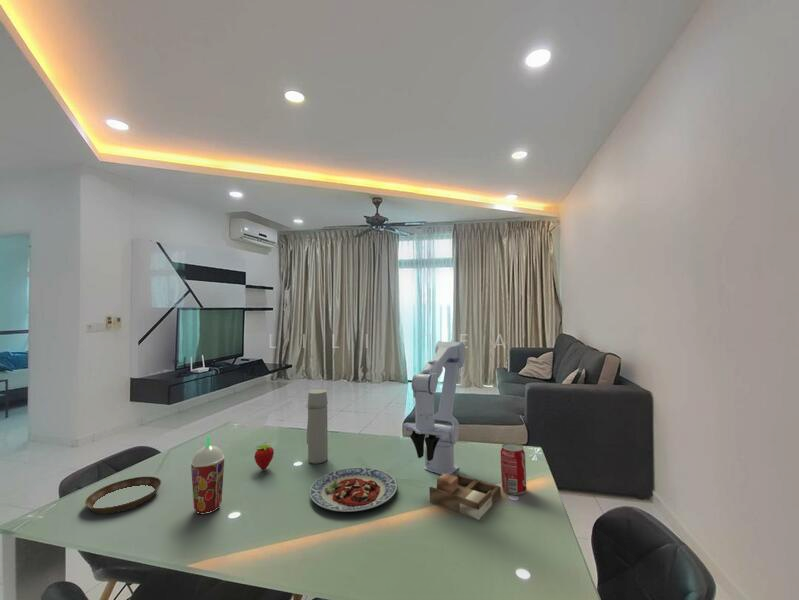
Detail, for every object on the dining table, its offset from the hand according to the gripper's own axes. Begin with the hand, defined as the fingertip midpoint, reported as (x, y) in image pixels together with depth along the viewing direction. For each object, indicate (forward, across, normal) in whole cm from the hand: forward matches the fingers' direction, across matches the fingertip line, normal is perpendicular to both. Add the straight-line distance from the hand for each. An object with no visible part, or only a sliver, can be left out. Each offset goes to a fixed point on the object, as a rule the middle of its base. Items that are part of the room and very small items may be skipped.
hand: (425, 458), depth 108 cm
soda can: (+10, +22, +15) cm, 28 cm away
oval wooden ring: (+10, -68, -56) cm, 89 cm away
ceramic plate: (+10, -16, -14) cm, 24 cm away
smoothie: (+10, -44, -44) cm, 63 cm away
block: (+7, +8, 0) cm, 10 cm away
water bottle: (+10, -44, -5) cm, 46 cm away
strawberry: (+10, -52, -21) cm, 57 cm away
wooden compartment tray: (+9, +12, +2) cm, 15 cm away
